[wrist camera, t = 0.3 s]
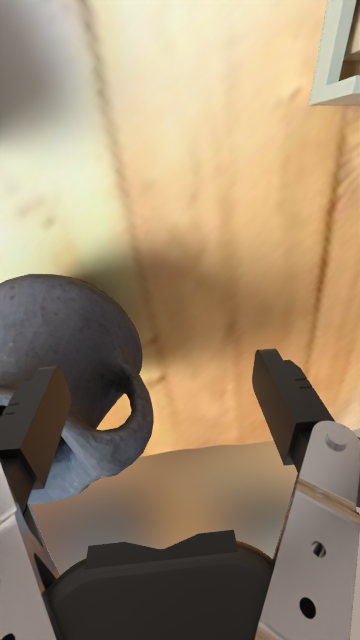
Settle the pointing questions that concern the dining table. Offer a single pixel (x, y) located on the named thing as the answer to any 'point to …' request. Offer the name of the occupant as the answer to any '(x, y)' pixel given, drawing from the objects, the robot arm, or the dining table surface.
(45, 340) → the pitcher
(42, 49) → the dining table surface
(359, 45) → the oak block
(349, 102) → the lane shelf
